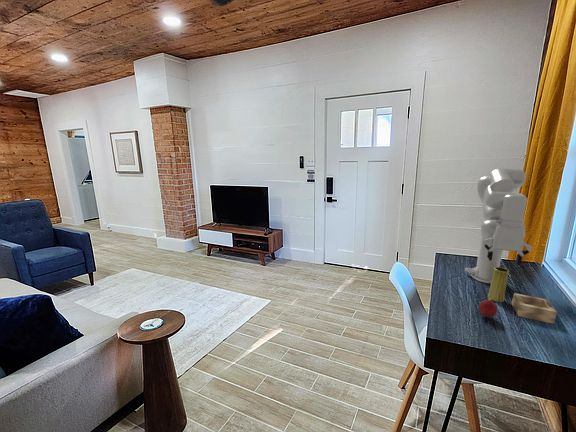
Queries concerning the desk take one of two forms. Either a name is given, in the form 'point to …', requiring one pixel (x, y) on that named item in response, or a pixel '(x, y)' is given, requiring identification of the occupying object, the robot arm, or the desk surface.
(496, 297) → the vase
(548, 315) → the wooden box
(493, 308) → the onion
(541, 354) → the desk surface
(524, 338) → the desk surface
